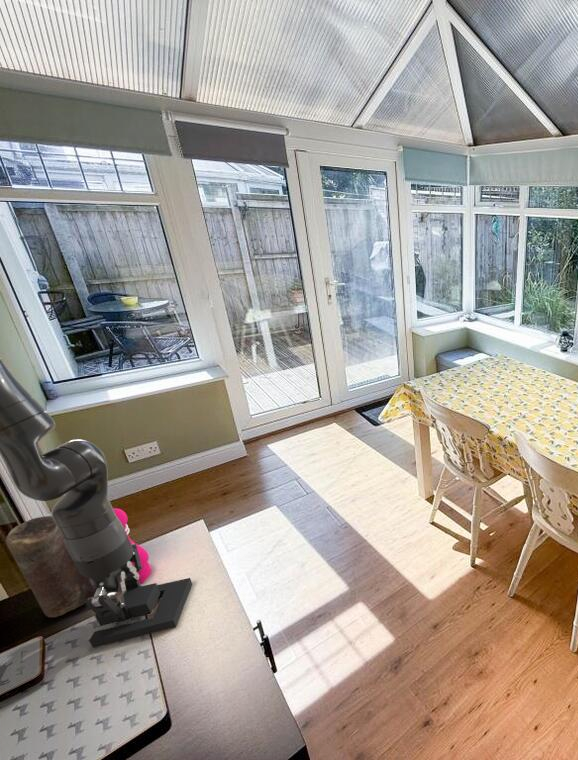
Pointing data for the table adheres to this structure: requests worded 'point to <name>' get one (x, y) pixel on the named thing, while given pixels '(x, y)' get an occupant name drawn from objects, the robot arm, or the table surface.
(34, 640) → the table surface
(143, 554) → the pepper mill
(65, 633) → the table surface
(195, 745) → the table surface
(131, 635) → the black u-shaped piece
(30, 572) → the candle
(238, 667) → the table surface
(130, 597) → the black block
